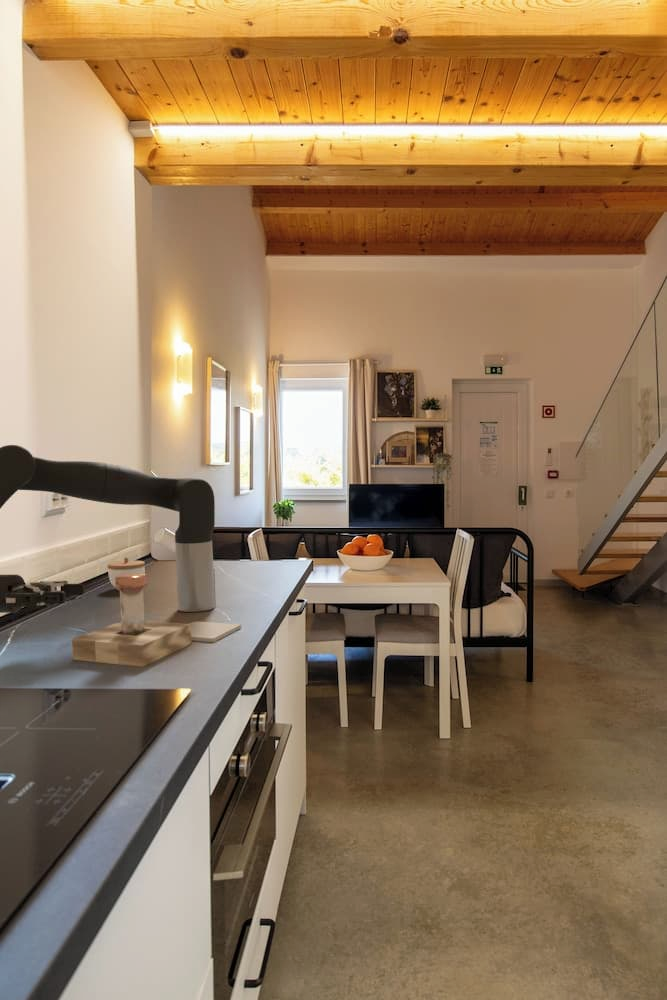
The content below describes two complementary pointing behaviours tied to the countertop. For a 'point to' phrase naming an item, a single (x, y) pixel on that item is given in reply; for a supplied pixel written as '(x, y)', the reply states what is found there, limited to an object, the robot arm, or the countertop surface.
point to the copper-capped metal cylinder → (132, 602)
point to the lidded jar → (125, 569)
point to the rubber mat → (211, 631)
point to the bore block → (131, 644)
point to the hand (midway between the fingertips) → (74, 593)
